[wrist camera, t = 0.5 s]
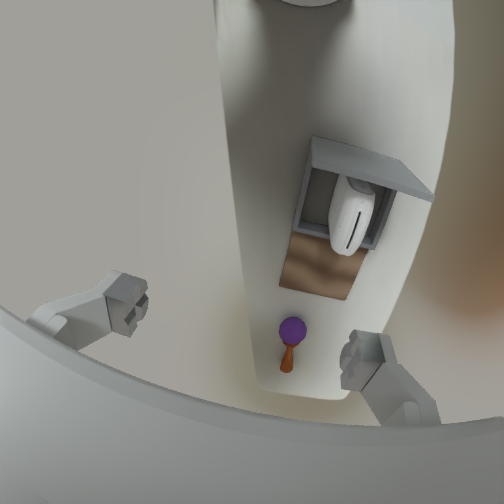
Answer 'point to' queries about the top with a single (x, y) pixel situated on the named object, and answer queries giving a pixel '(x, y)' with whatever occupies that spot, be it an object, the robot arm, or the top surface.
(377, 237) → the equipment case
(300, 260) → the walnut board
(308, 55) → the top surface
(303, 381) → the top surface
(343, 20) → the top surface
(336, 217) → the photo printer
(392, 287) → the top surface
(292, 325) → the maraca
